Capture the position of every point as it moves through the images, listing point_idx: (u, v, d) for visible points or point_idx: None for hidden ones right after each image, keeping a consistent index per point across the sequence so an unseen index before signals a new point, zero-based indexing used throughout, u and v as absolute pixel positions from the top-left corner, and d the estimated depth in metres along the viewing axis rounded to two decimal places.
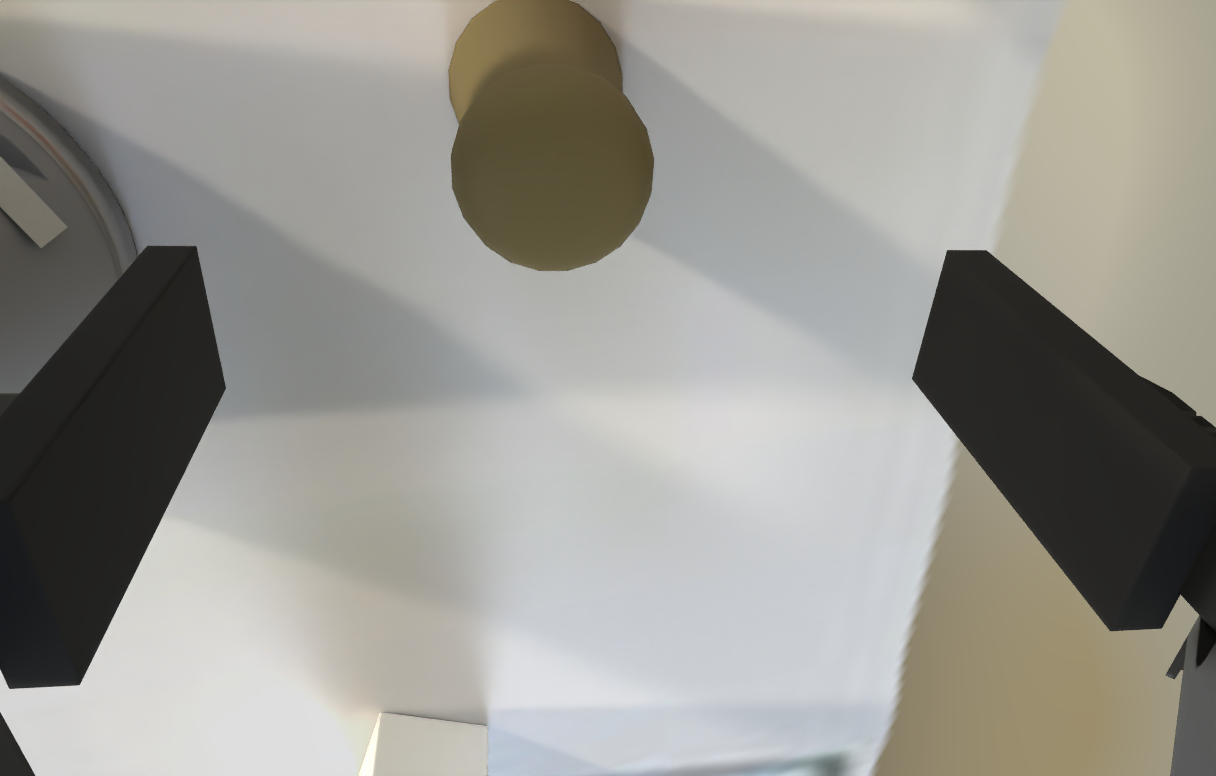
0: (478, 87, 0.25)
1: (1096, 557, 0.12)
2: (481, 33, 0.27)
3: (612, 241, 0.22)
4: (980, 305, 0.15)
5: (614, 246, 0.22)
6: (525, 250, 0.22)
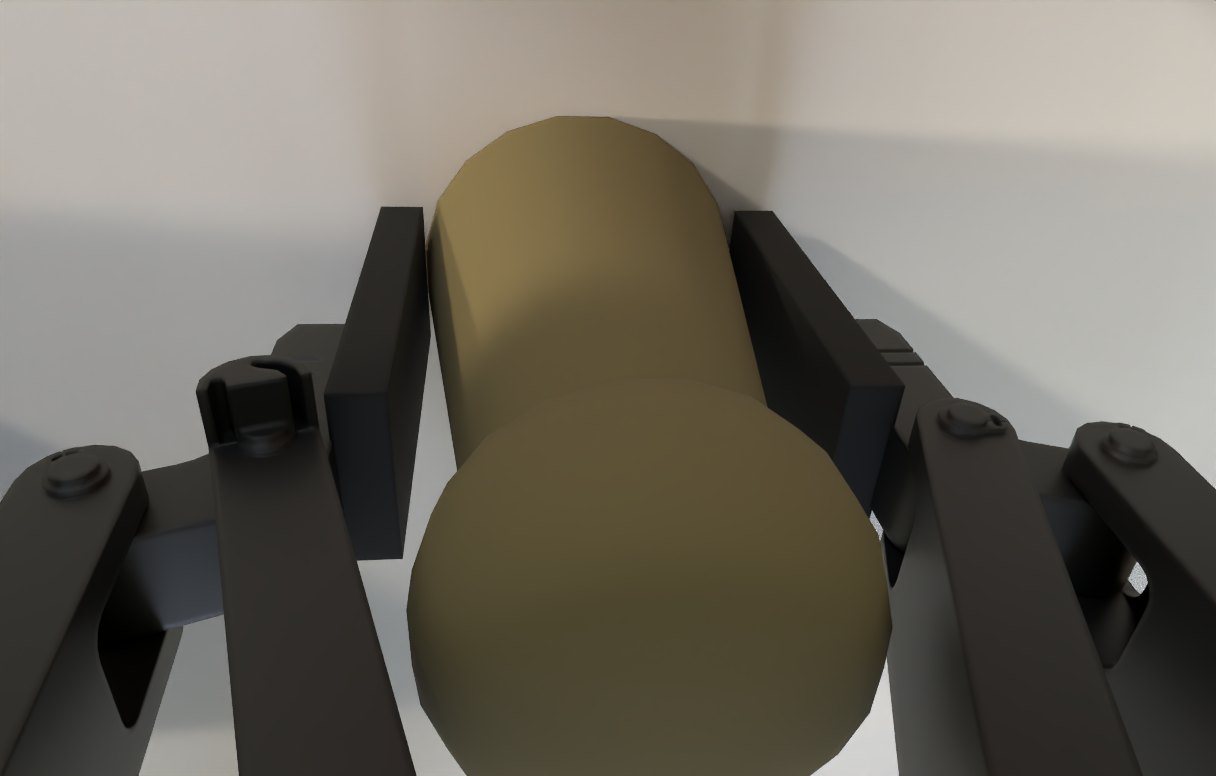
0: (475, 356, 0.12)
1: None
2: (483, 207, 0.14)
3: None
4: (751, 259, 0.16)
5: None
6: None
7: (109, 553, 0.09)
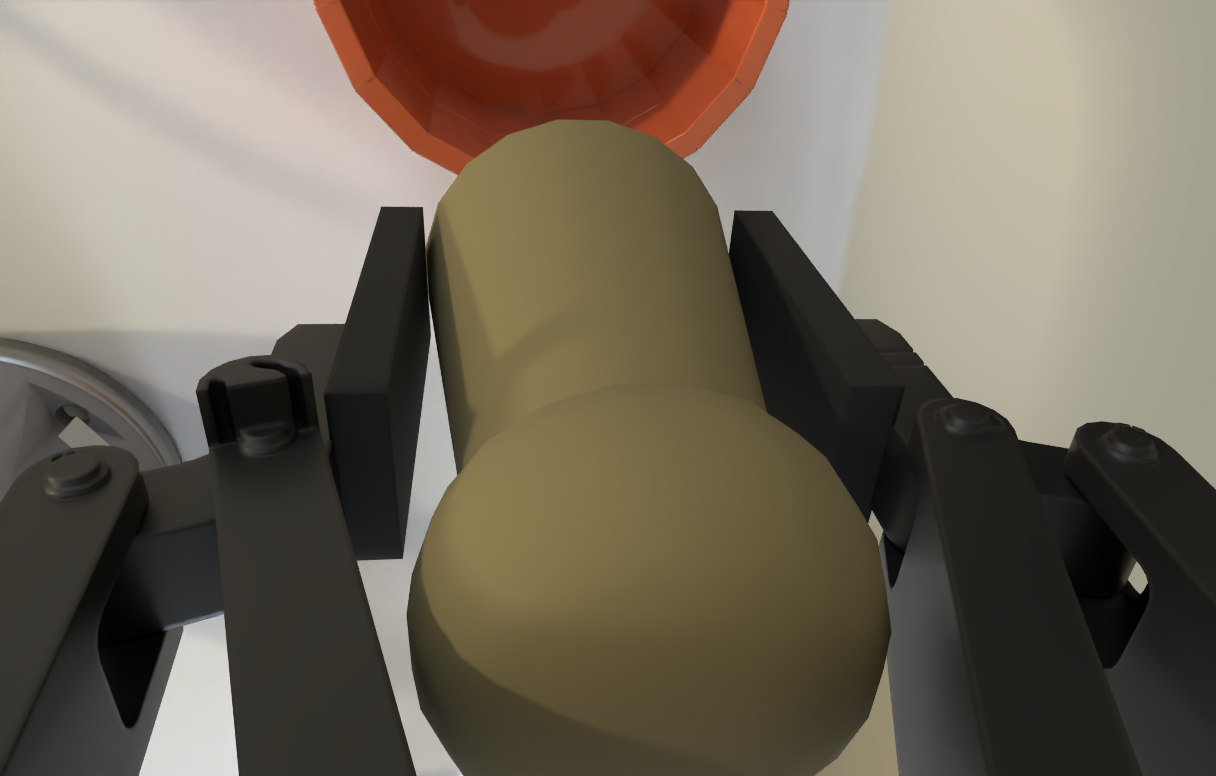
0: (475, 360, 0.12)
1: None
2: (483, 210, 0.14)
3: None
4: (751, 259, 0.16)
5: None
6: None
7: (109, 553, 0.09)
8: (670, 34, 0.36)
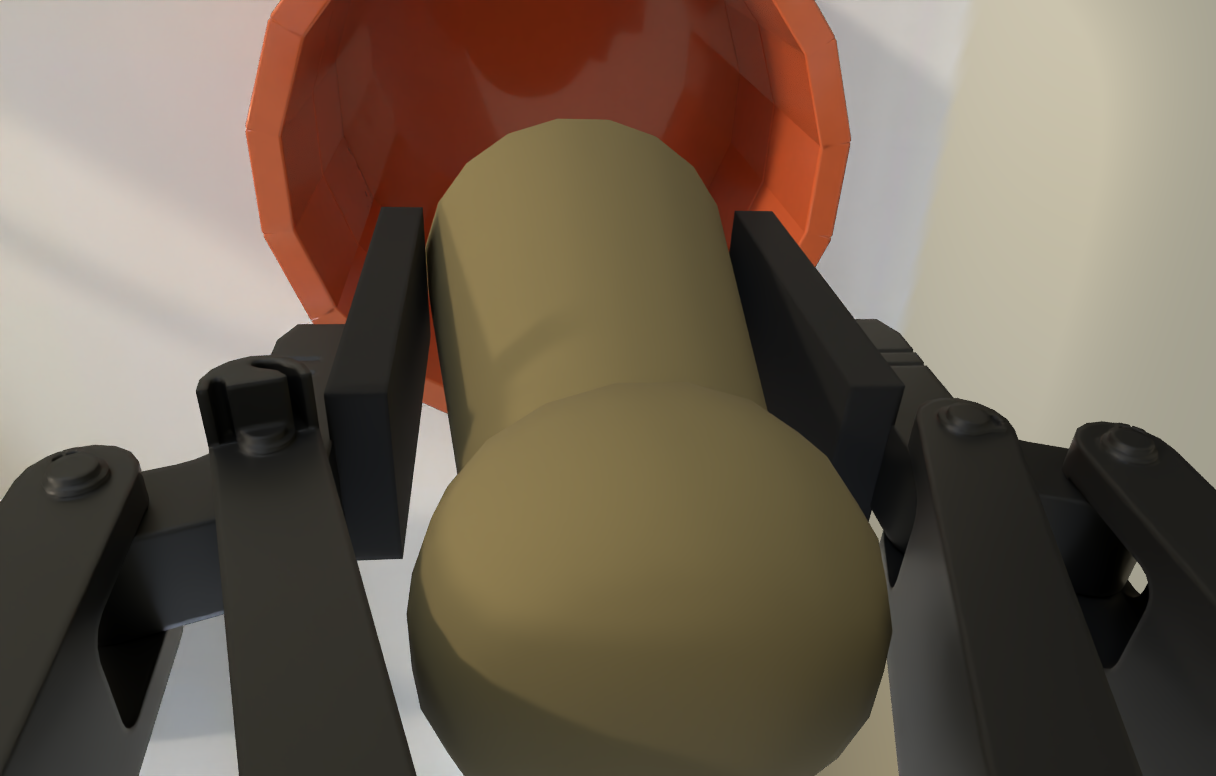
0: (476, 359, 0.12)
1: None
2: (483, 209, 0.14)
3: None
4: (751, 259, 0.16)
5: None
6: None
7: (109, 553, 0.09)
8: None
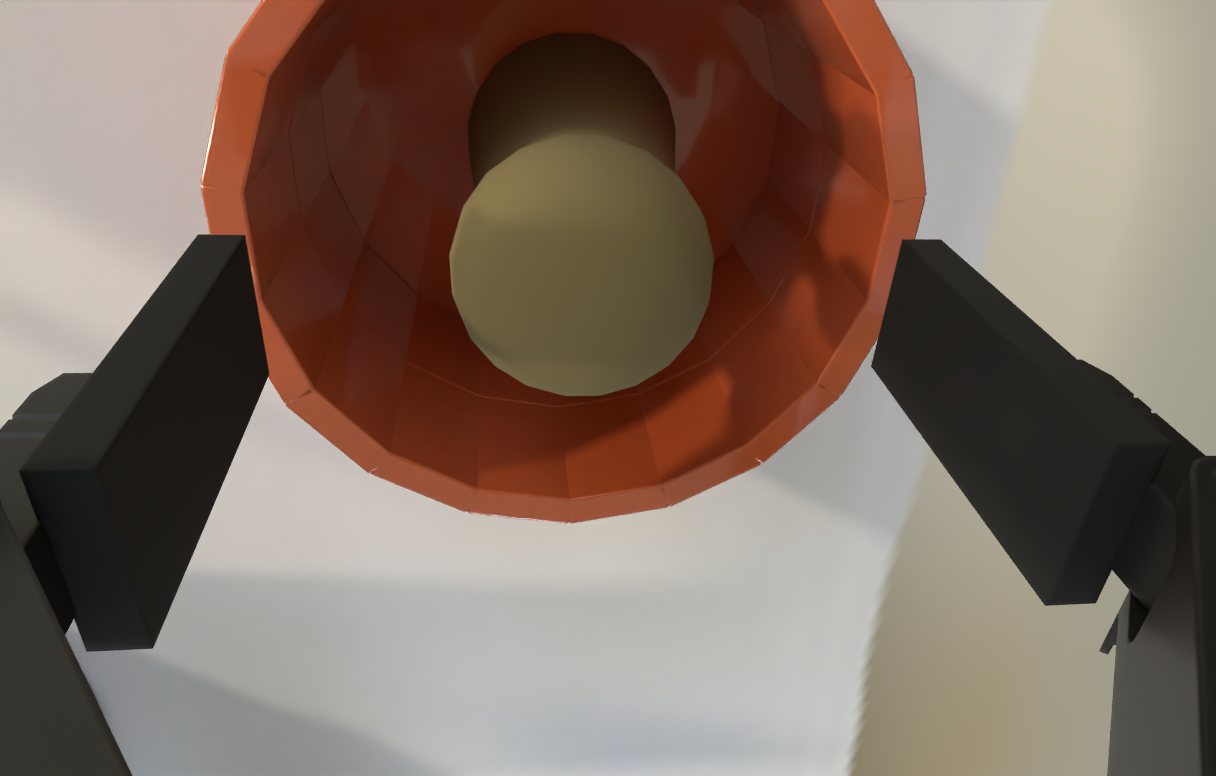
0: (493, 156, 0.20)
1: (1033, 534, 0.12)
2: (503, 85, 0.22)
3: (658, 364, 0.17)
4: (931, 292, 0.15)
5: (660, 369, 0.17)
6: (544, 376, 0.17)
7: None
8: (718, 247, 0.28)
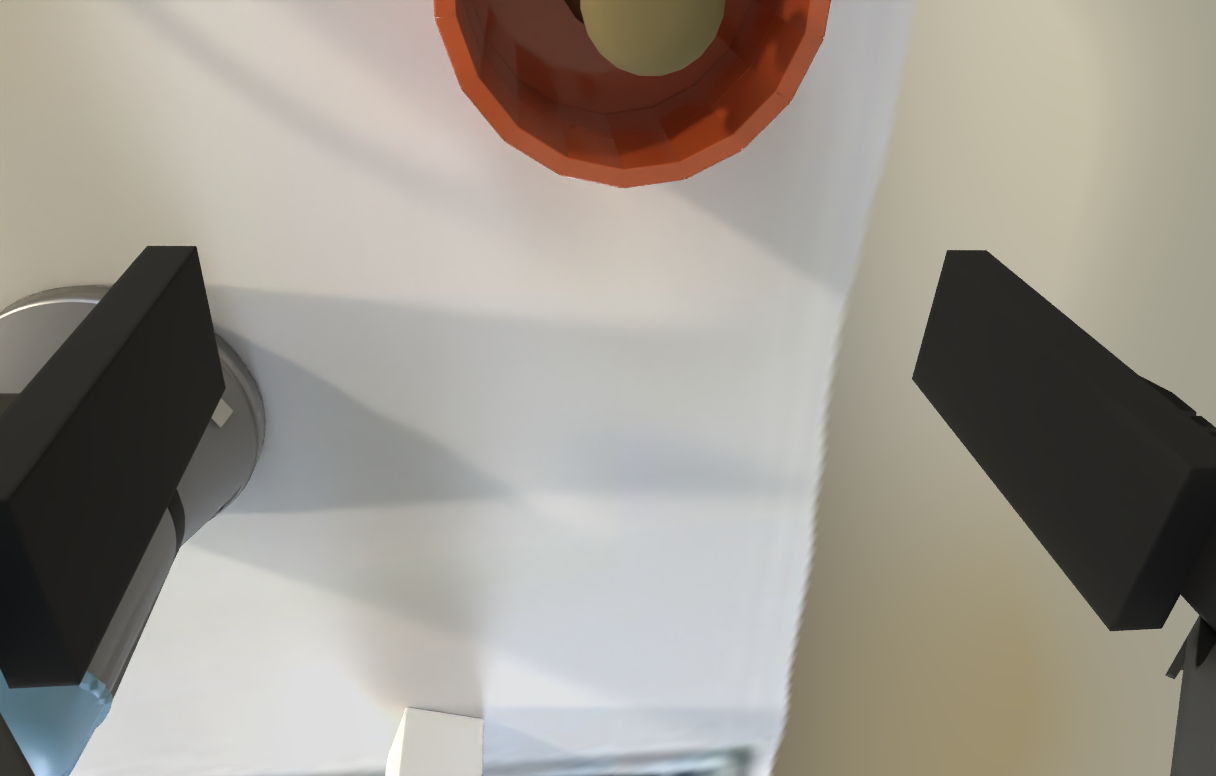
0: None
1: (1096, 557, 0.12)
2: None
3: (696, 48, 0.31)
4: (980, 306, 0.15)
5: (697, 53, 0.31)
6: (634, 53, 0.31)
7: None
8: (718, 49, 0.41)
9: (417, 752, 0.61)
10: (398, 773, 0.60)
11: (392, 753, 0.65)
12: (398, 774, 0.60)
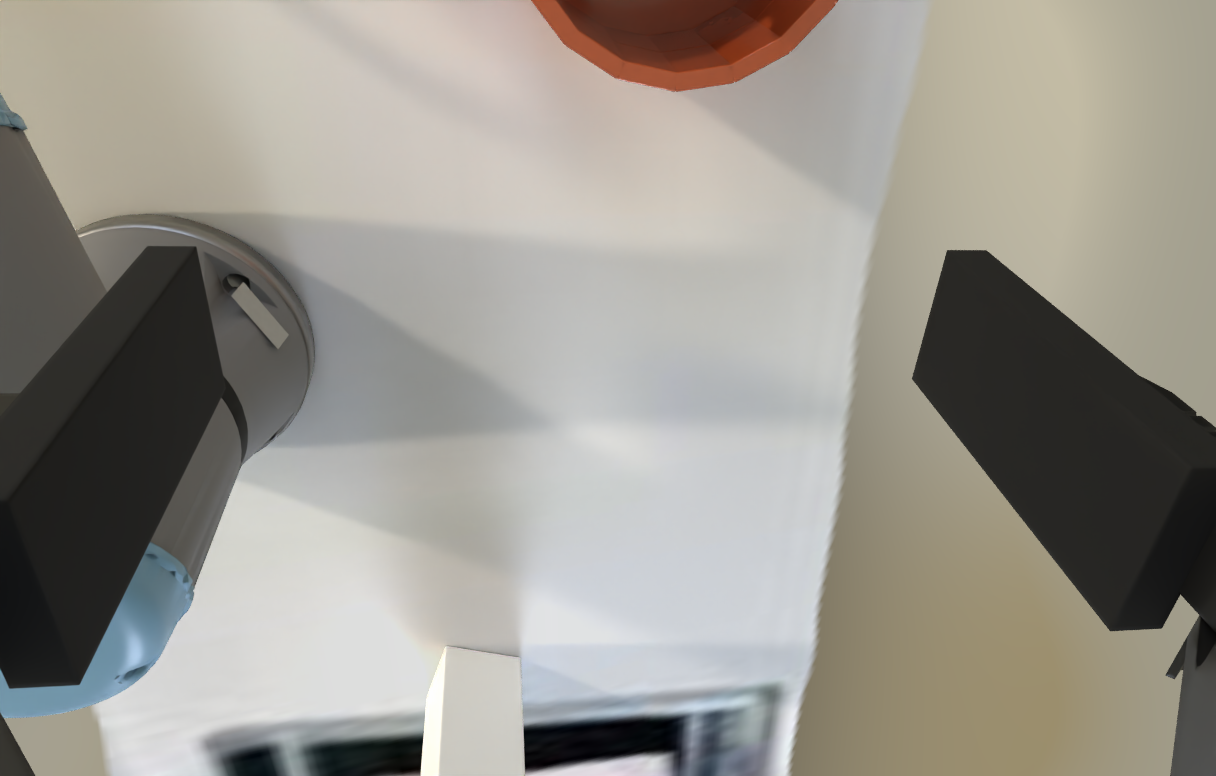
0: None
1: (1096, 557, 0.12)
2: None
3: None
4: (980, 306, 0.15)
5: None
6: None
7: None
8: None
9: (458, 687, 0.63)
10: (442, 705, 0.61)
11: (432, 692, 0.66)
12: (442, 706, 0.61)
